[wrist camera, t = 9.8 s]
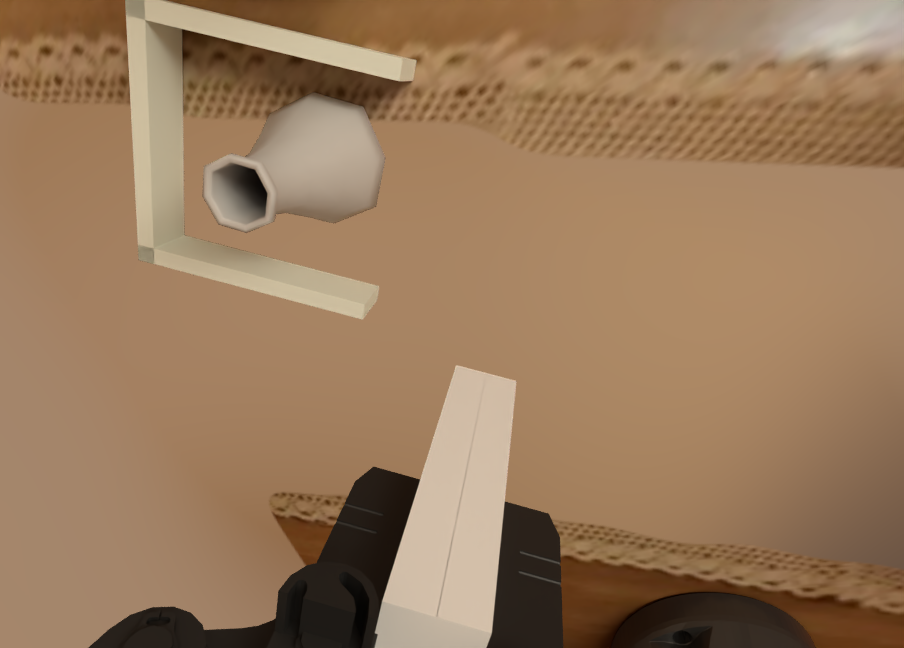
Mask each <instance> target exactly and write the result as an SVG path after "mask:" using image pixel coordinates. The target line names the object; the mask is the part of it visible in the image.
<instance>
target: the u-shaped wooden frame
mask: <svg viewBox="0 0 904 648" xmlns="http://www.w3.org/2000/svg"><path fill="white" fill-rule="evenodd" d="M125 5H126V24H127V43H128V63H129V82H130V102H131V121H132V139H133V160H134V177H135V178H134V179H135V197H136V198H135V199H136V218H137V237H138V257H139V260H140V261H144V262H148V263H152V264H155V265H159V266H163V267H167V268H171V269H174V270H178V271H182V272H185V273H189V274H193V275H197V276H201V277H204V278H208V279H212V280H215V281H219V282H223V283H227V284H231V285H234V286H238V287H242V288H246V289H249V290H253V291H257V292H261V293H264V294H268V295H272V296H276V297H280V298H283V299H287V300H291V301H295V302H298V303H302V304H306V305H309V306H313V307H317V308H321V309H324V310H328V311H332V312H336V313H340V314H343V315H347V316H351V317H354V318H358V319H362V320H363V318H364V317H365V316H366V314H367V313H368V312H369V311H370V309H371V308H372V306H373V305H374V304H375V303H376V301H377V298H378V292H379V286H377V285H373V284H369V283H365V282H361V281H357V280H353V279H350V278H346V277H342V276H338V275H335V274H331V273H327V272H323V271H319V270H316V269H311V268H308V267H304V266H300V265H296V264H293V263H289V262H285V261H281V260H277V259H274V258H270V257H266V256H262V255H258V254H255V253H250V252H247V251H243V250H239V249H235V248H232V247H228V246H224V245H220V244H216V243H213V242H209V241H205V240H201V239H197V238H193V237H189V236H186V235H184V154H183V152H184V151H183V59H182V29H185V30H189V31H193V32H197V33H201V34H205V35H209V36H214V37H218V38H222V39H226V40H230V41H234V42H238V43H243V44H247V45H251V46H255V47H259V48H263V49H267V50H271V51H276V52H280V53H284V54H288V55H292V56H296V57H300V58H305V59H309V60H313V61H317V62H321V63H325V64H329V65H334V66H338V67H342V68H346V69H350V70H354V71H358V72H363V73H367V74H371V75H375V76H379V77H383V78H387V79H392V80H396V81H413V79H414V73H415V67H416V60H413V59H409V58H405V57H400V56H396V55H392V54H388V53H384V52H380V51H375V50H371V49H367V48H363V47H359V46H354V45H350V44H346V43H342V42H338V41H334V40H329V39H325V38H321V37H317V36H313V35H308V34H304V33H300V32H296V31H292V30H288V29H283V28H279V27H275V26H271V25H267V24H262V23H258V22H254V21H250V20H246V19H242V18H237V17H233V16H229V15H225V14H221V13H216V12H212V11H208V10H204V9H200V8H196V7H191V6H187V5H183V4H179V3H175V2H170V1H166V0H125Z"/></svg>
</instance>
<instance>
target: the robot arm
mask: <svg viewBox="0 0 904 648" xmlns="http://www.w3.org/2000/svg"><path fill="white" fill-rule="evenodd" d="M515 390H516V381H514V380H511V379H507V378H503V377H499V376H496V375H492V374H488V373H484V372H480V371H477V370H473V369H469V368H465V367H462V366H458V365H456V368H455V371H454V374H453V377H452V380H451V384H450V387H449V390H448V393H447V396H446V400H445V403H444V406H443V409H442V413H441V416H440V419H439V422H438V425H437V428H436V431H435V435H434V438H433V441H432V444H431V447H430V450H429V454H428V457H427V460H426V463H425V466H424V470H423V473H422V476H421V479H416V478H413V477H409V476H405V475H402V474H398V473H395V472H391V471H387V470H384V469H380V468H377V467H373V468H371V469H370V470H369V471H368V472H367V473H365V474H364V475H363V476H362V477H360V478H359V479H358V480H356V481H355V483H354V485H353V487H352V489H351V491H350V493H349V496H348V498H347V500H346V502H345V505H344V506H343V508H342V510H341V512H340V515H339V517H338V519H337V522H336V524H335V525H334V527H333V529H332V531H331V534H330V536H329V538H328V540H327V542H326V544H325V546H324V548H323V550H322V553H321V555H320V557H319V559H318V561H317V563H315V564H311V565H307V566H305V567H304V568H302V569H300V570H299V571H297V572H296V573H294V574H292V575H291V576H290V577H289V578H288V579H287V581H286V582H285V583H284V585H283V586H282V587H281V588H280V590H279V592H278V603H277V612H276V619H274V620H272V621H270V622H267V623H265V624H262V625H259V626H254V627H248V628H239V629H216V630H204V629H203V625H202V624H201V623H200V622H199V621H198V620H197V619H196V618H195V617H194V616H193V615H192V614H191V613H190V612H187V611H184V610H181V609H178V608H176V607H153V608H149V609H146V610H143V611H141V612H138V613H135V614H132V615H130V616H128V617H127V618H125V619H124V620H122V621H121V622H119V623H118V624H116V625H115V626H113V627H112V628H110V629H109V630H108V631H107V632H106V633H104V634H103V635H102V636H101V637H100V638H99V639H98V640H97V641H96V642H94V643H93V644H92V645H91V646H90V647H89V648H563V626H562V593H561V587H560V584H561V566H560V561H561V560H560V537H559V534H558V532H557V530H556V528H555V526H554V524H553V522H552V520H551V518H550V516H549V514H548V513H544V512H541V511H537V510H533V509H529V508H526V507H522V506H519V505H515V504H512V503H508V502H505V492H506V482H507V472H508V462H509V450H510V441H511V431H512V421H513V410H514V400H515ZM611 648H816V647H815V645H814V643H813V641H812V639H811V637H810V636H809V634H808V633H807V631H806V630H805V629H804V628H803V627H802V626H801V625H800V624H799V623H798V622H797V621H796V620H795V619H794V618H792V617H791V616H790V615H788V614H787V613H785V612H783V611H782V610H780V609H778V608H776V607H774V606H772V605H769V604H767V603H764V602H762V601H759V600H756V599H752V598H748V597H744V596H739V595H733V594H724V593H694V594H686V595H680V596H675V597H671V598H667V599H664V600H661V601H658V602H655V603H653V604H651V605H649V606H646V607H645V608H643V609H641V610H639V611H638V612H636V613H635V614H633V615H632V616H631V617H630V618H629V619H627V620H626V621H625V622H624V623H623V625H622V626H621V627H620V628H619V630H618V631H617V633H616V635H615V637H614V639H613V642H612V646H611Z"/></svg>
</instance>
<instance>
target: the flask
mask: <svg viewBox="0 0 904 648" xmlns="http://www.w3.org/2000/svg"><path fill="white" fill-rule="evenodd" d="M384 163H385V156H384V153H383V151H382V149H381V146H380V144H379V142H378V140H377V137H376V135H375V132H374V130H373V128H372V126H371V123H370V121H369V119H368V116H367V114H366V112H365V109H364V107H363V106H359V105H356V104H352V103H349V102H345V101H342V100H339V99H335V98H332V97H328V96H325V95H321V94H318V93H315V92H313V93H311V94H309V95H306V96H304V97H302V98H300V99H298V100H296V101H294V102H292V103H290V104H288V105H286V106H284V107H282V108H280V109H278V110H276V111H274V112H272V113H270V115H269V117H268V118H267V121H266V123H265V125H264V127H263V130H262V132H261V134H260V136H259V138H258V139H257V141H256V143H255V145H254V146H253V148H252V150H251V152H250V153H249V154H248V155H246V156H245V157H243V156H240V155H236V154H232V153H231V154H229V155H226V156H224V157H222V158H220V159H218V160H216V161H214V162H212V163H210V164H208V165H205V166H204V175H203V198H204V200H205V202H206V203H207V205H208V207H209V208H210V210H211V212H212V214H213V216H214V217H215V219H216V221H217V223H218V224H219V225H222V226H225V227H229V228H232V229H235V230H239V231H242V232H245V233H247V232H250V231H253V230H255V229H257V228H259V227H262V226H264V225H267V224H269V223H272V222H274V220H275V216H276V214H281V213H289V214H295V215H300V216H306V217H311V218H314V219H319V220H322V221H326V222H331V223H336V222H339V221H341V220H344V219H346V218H349V217H351V216H354V215H356V214H359V213H361V212H364V211H366V210H369V209H371V208H374V207H376V204H377V199H378V194H379V189H380V183H381V178H382V173H383V168H384Z"/></svg>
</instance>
